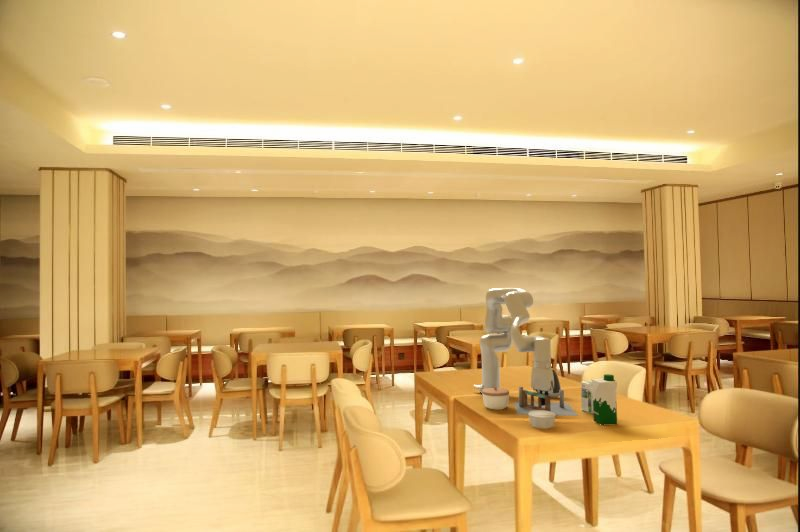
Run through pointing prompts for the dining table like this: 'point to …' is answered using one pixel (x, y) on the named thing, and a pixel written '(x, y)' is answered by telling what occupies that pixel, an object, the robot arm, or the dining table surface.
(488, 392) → the lidded bowl
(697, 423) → the dining table surface
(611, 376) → the milk carton
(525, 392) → the gate leaf
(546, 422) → the ramekin
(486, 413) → the dining table surface
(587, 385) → the syrup box
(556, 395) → the dark grey rounded block
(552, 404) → the gate base
